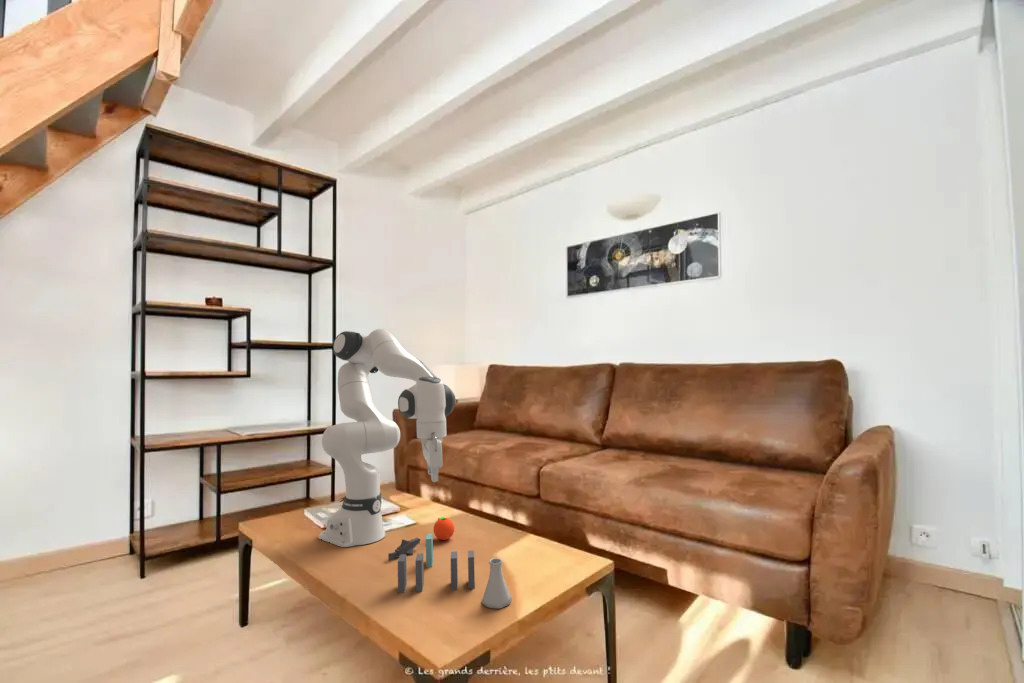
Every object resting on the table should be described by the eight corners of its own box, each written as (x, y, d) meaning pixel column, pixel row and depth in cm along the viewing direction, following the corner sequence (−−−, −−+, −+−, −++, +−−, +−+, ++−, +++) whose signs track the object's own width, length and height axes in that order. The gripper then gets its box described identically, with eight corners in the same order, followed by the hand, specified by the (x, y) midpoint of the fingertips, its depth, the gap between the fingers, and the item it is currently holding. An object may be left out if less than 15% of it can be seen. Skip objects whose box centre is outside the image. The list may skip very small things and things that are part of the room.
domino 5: (468, 588, 125) (467, 557, 126) (468, 580, 130) (468, 550, 130) (474, 588, 126) (474, 557, 126) (474, 580, 130) (474, 550, 130)
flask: (500, 612, 113) (499, 569, 114) (475, 604, 117) (475, 563, 118) (516, 599, 120) (516, 558, 120) (492, 592, 123) (491, 552, 124)
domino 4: (451, 589, 125) (450, 558, 125) (451, 582, 129) (451, 551, 130) (457, 589, 125) (456, 558, 125) (457, 581, 130) (457, 551, 130)
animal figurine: (394, 567, 143) (391, 551, 142) (385, 563, 145) (382, 547, 145) (425, 547, 152) (423, 532, 151) (416, 543, 155) (414, 528, 154)
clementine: (428, 538, 161) (428, 516, 162) (446, 533, 166) (446, 512, 166) (439, 545, 155) (439, 522, 155) (458, 539, 159) (458, 518, 159)
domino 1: (398, 593, 124) (397, 561, 124) (400, 585, 128) (400, 554, 128) (404, 592, 124) (404, 561, 124) (406, 584, 128) (406, 554, 129)
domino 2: (415, 592, 124) (415, 560, 124) (417, 584, 129) (417, 553, 129) (422, 591, 124) (421, 560, 125) (423, 583, 129) (423, 553, 129)
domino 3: (426, 567, 139) (425, 539, 139) (427, 560, 143) (427, 533, 143) (431, 567, 139) (431, 538, 139) (433, 560, 143) (432, 533, 144)
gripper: (447, 434, 136) (448, 484, 135) (438, 426, 155) (439, 470, 155) (424, 436, 134) (425, 486, 133) (418, 428, 154) (419, 472, 153)
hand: (433, 477), depth 144 cm, fingers open, 8 cm apart
